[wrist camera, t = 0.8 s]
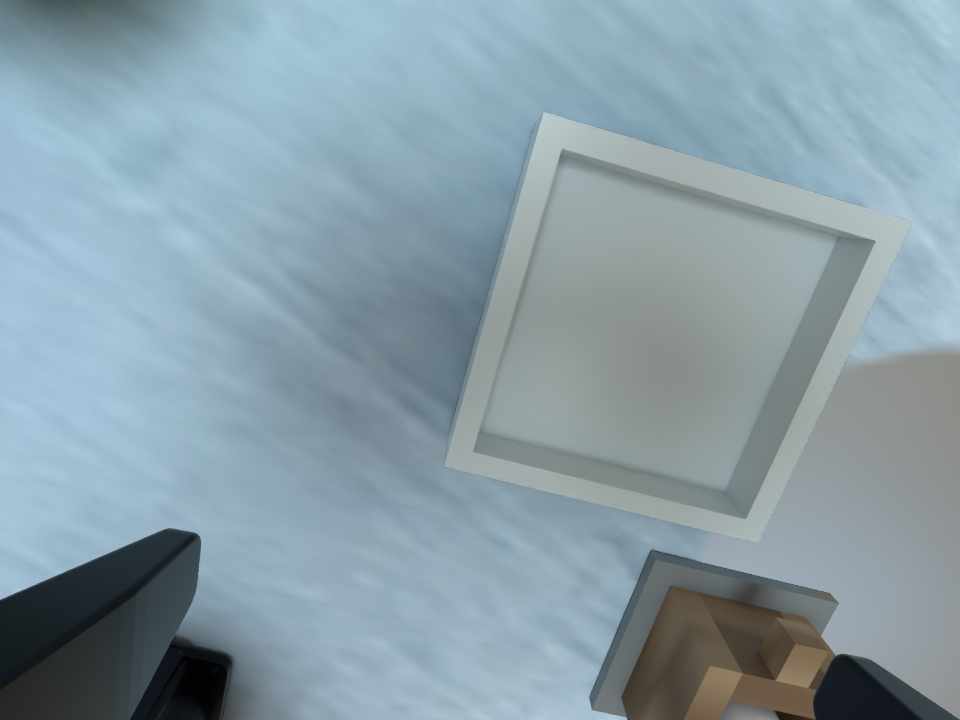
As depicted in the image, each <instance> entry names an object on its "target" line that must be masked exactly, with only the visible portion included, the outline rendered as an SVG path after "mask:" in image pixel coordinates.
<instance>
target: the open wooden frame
mask: <svg viewBox="0 0 960 720" xmlns="http://www.w3.org/2000/svg"><path fill="white" fill-rule="evenodd" d="M835 656H836V655H835V654H834V653H833V651H832V650H831V649H830V648H829V646H828V645H827V644H826V643H825V641H824V640H823V639H822V637H821V636H820V635H819V633H818V632H817V631H816V630H815V628H814V627H813V626H812V624H811V623H810V622H809V621H808V619H807V618H806V617H802V616H798V615H794V614H789V613H785V612H781V611H777V610H772V609H768V608H764V607H760V606H755V605H751V604H747V603H743V602H738V601H734V600H730V599H726V598H721V597H717V596H713V595H709V594H704V593H700V592H696V591H692V590H687V589H683V588H679V587H675V586H670V587H669V589H668V592H667V594H666V596H665V599H664V601H663V603H662V605H661V608H660V610H659V612H658V614H657V617H656V619H655V621H654V624H653V626H652V628H651V630H650V633H649V635H648V637H647V640H646V642H645V644H644V646H643V649H642V651H641V653H640V655H639V658H638V660H637V662H636V665H635V667H634V669H633V671H632V674H631V676H630V678H629V680H628V683H627V685H626V687H625V690H624V692H623V694H622V696H621V699H622V702H623V706H624V709H625V713H626V716H627V720H719V719H720V717H721V715H722V713H723V712H724V710H725V708H726V706H727V704H728V702H729V700H730V701H735V702H739V703H744V704H748V705H753V706H758V707H762V708H767V709H771V710H774V711H775V713H776V715H777V717H778V718H779V720H816V719H815V716H814V711H813V698H814V695H815V693H816V691H817V688H818V686H819V684H820V682H821V680H822V678H823V676H824V674H825V672H826V670H827V668H828V666H829V664H830V662H831V661H832V659H833V658H834V657H835Z"/></svg>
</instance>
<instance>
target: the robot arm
mask: <svg viewBox="0 0 960 720" xmlns="http://www.w3.org/2000/svg"><path fill="white" fill-rule="evenodd" d="M200 551H201V539H200V536H199V535H198V534H197V533H194V532H188V531H183V530H178V529H171V528H169V529H165V530H162V531H159V532H157V533H155V534H152V535H150V536H148V537H145V538H143V539H141V540H138V541H136V542H134V543H132V544H129V545H127V546H125V547H122V548H120V549H118V550H115V551H113V552H111V553H108V554H106V555H104V556H101V557H99V558H97V559H94V560H92V561H90V562H87V563H85V564H83V565H80V566H78V567H76V568H73V569H71V570H69V571H66V572H64V573H62V574H59V575H57V576H55V577H52V578H50V579H48V580H45V581H43V582H41V583H38V584H36V585H34V586H31V587H29V588H27V589H24V590H22V591H20V592H17V593H15V594H13V595H10V596H8V597H6V598H3V599H1V600H0V720H222V717H223V711H224V706H225V700H226V695H227V689H228V683H229V678H230V672H231V662H230V660H229V659H228V658H226V657H224V656H222V655H217V654H212V653H207V652H203V651H198V650H193V649H188V648H184V647H179V646H174V645H170V643H171V641H172V639H173V637H174V636H175V634H176V632H177V630H178V628H179V626H180V624H181V622H182V620H183V618H184V617H185V615H186V613H187V611H188V609H189V607H190V605H191V603H192V601H193V598H194V595H195V592H196V588H197V581H198V571H199V561H200ZM216 667H217V668H216ZM218 668H219V669H218ZM813 711H814V716H815V719H816V720H959V719H958V718H956V717H955V716H953V715H952V714H951V713H949V712H948V711H946V710H945V709H943V708H942V707H940V706H939V705H937V704H936V703H934V702H933V701H931V700H930V699H928V698H927V697H925V696H924V695H922V694H921V693H919V692H918V691H916V690H915V689H913V688H912V687H910V686H909V685H908V684H906V683H904V682H903V681H902V680H900V679H899V678H897V677H896V676H894V675H893V674H891V673H890V672H888V671H887V670H885V669H884V668H882V667H881V666H879V665H878V664H876V663H875V662H873V661H872V660H869V659H867V658H863V657H858V656H853V655H847V654H839V655H837V656H835V657H834V658H833V659H832V661H831V662H830V664H829V666H828V668H827V670H826V672H825V674H824V676H823V678H822V680H821V682H820V684H819V686H818V688H817V691H816V693H815V695H814V698H813Z"/></svg>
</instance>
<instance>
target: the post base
mask: <svg viewBox="0 0 960 720" xmlns="http://www.w3.org/2000/svg"><path fill="white" fill-rule="evenodd" d="M670 586H675V587H679V588H683V589H687V590H692V591H696V592H700V593H704V594H709V595H713V596H717V597H721V598H726V599H730V600H734V601H738V602H743V603H747V604H751V605H755V606H760V607H764V608H768V609H772V610H777V611H781V612H785V613H789V614H794V615H798V616H802V617H806V618H807V619H808V621H809V622H810V623H811V624H812V626H813V627H814V628H815V630H816V631H817V632H818V633H819V635H820V636H821V635H822V633H823V631H824V629H825V627H826V626H827V624H828V622H829V620H830V618H831V617H832V615H833V613H834V611H835V609H836V607H837V606H838V604H839V603H838V602H837V601H836V600H835V599H834V597H833V596H832V595H831V594H830V593H827V592H823V591H818V590H814V589H810V588H806V587H801V586H798V585H793V584H789V583H785V582H781V581H777V580H772V579H768V578H764V577H760V576H756V575H752V574H747V573H743V572H739V571H735V570H731V569H727V568H722V567H718V566H714V565H710V564H706V563H702V562H697V561H693V560H689V559H685V558H681V557H677V556H672V555H668V554H664V553H660V552H656V551H652V550H651V552H650V554H649V557H648V559H647V562H646V564H645V566H644V569H643V571H642V574H641V576H640V578H639V581H638V583H637V586H636V588H635V590H634V593H633V595H632V597H631V600H630V602H629V605H628V607H627V609H626V612H625V614H624V617H623V619H622V621H621V624H620V626H619V629H618V631H617V633H616V636H615V638H614V640H613V643H612V645H611V648H610V650H609V652H608V655H607V657H606V660H605V662H604V664H603V667H602V669H601V672H600V674H599V676H598V679H597V681H596V683H595V686H594V688H593V691H592V693H591V695H590V703H591V707H592V710H595V711H600V712H605V713H609V714H614V715H619V716H623V717H627V716H626V713H625V709H624V706H623V702H622V699H621V696H622V694H623V692H624V690H625V687H626V685H627V683H628V680H629V678H630V676H631V674H632V671H633V669H634V667H635V665H636V662H637V660H638V658H639V655H640V653H641V651H642V649H643V646H644V644H645V642H646V640H647V637H648V635H649V633H650V630H651V628H652V626H653V624H654V621H655V619H656V617H657V614H658V612H659V610H660V608H661V605H662V603H663V601H664V599H665V596H666V594H667V592H668V589H669V587H670ZM719 720H779V718H778V717H777V715H776V713H775V711H774V710H771V709H767V708H762V707H758V706H753V705H748V704H744V703H739V702H735V701H730V700H729V702H728V704H727V706H726V708H725V710H724V712H723V713H722V715H721V717H720V719H719Z"/></svg>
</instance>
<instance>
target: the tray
mask: <svg viewBox="0 0 960 720" xmlns="http://www.w3.org/2000/svg"><path fill="white" fill-rule="evenodd" d="M911 224H912V222H911V221H908V220H905V219H901V218H898V217H895V216H891V215H888V214H885V213H881V212H878V211H875V210H871V209H868V208H865V207H861V206H858V205H854V204H851V203H848V202H844V201H841V200H838V199H834V198H831V197H828V196H824V195H821V194H818V193H814V192H811V191H808V190H804V189H801V188H798V187H794V186H791V185H787V184H784V183H781V182H777V181H774V180H771V179H767V178H764V177H761V176H757V175H754V174H751V173H747V172H744V171H741V170H737V169H734V168H731V167H727V166H724V165H720V164H717V163H714V162H710V161H707V160H704V159H700V158H697V157H694V156H690V155H687V154H684V153H680V152H677V151H674V150H670V149H667V148H664V147H660V146H657V145H653V144H650V143H647V142H643V141H640V140H637V139H633V138H630V137H627V136H623V135H620V134H617V133H613V132H610V131H607V130H603V129H600V128H597V127H593V126H590V125H587V124H583V123H580V122H576V121H573V120H570V119H566V118H563V117H560V116H556V115H553V114H550V113H546V112H543V113H542V115H541V116H540V117H539V119H538V120H537V121H536V123H535V126H534V130H533V133H532V137H531V141H530V144H529V148H528V151H527V155H526V159H525V162H524V166H523V169H522V173H521V177H520V180H519V184H518V187H517V191H516V195H515V198H514V202H513V205H512V209H511V213H510V216H509V220H508V223H507V227H506V231H505V234H504V238H503V241H502V245H501V249H500V252H499V256H498V259H497V263H496V267H495V270H494V274H493V277H492V281H491V285H490V288H489V292H488V295H487V299H486V303H485V306H484V310H483V313H482V317H481V320H480V324H479V328H478V331H477V335H476V338H475V342H474V346H473V349H472V353H471V356H470V360H469V364H468V367H467V371H466V374H465V378H464V382H463V385H462V389H461V392H460V396H459V400H458V403H457V407H456V410H455V414H454V418H453V421H452V425H451V428H450V432H449V436H448V441H447V449H446V456H445V464H444V467H447V468H451V469H455V470H459V471H463V472H467V473H471V474H475V475H479V476H483V477H488V478H492V479H496V480H500V481H504V482H508V483H512V484H516V485H520V486H524V487H528V488H533V489H537V490H541V491H545V492H549V493H553V494H557V495H561V496H565V497H569V498H573V499H578V500H582V501H586V502H590V503H594V504H598V505H602V506H606V507H610V508H614V509H618V510H623V511H627V512H631V513H635V514H639V515H643V516H647V517H651V518H655V519H659V520H663V521H668V522H672V523H676V524H680V525H684V526H688V527H692V528H696V529H700V530H704V531H708V532H713V533H717V534H721V535H725V536H729V537H733V538H737V539H741V540H746V541H750V542H753V543H758V542H759V540H760V538H761V536H762V534H763V532H764V530H765V528H766V526H767V524H768V521H769V519H770V517H771V515H772V513H773V511H774V509H775V507H776V505H777V503H778V501H779V499H780V497H781V494H782V492H783V490H784V488H785V486H786V484H787V482H788V479H789V478H790V476H791V473H792V471H793V469H794V467H795V465H796V463H797V461H798V459H799V457H800V455H801V453H802V451H803V449H804V447H805V444H806V442H807V440H808V438H809V436H810V434H811V432H812V430H813V428H814V426H815V424H816V422H817V419H818V417H819V415H820V413H821V411H822V409H823V407H824V405H825V403H826V401H827V399H828V397H829V394H830V392H831V390H832V388H833V386H834V384H835V382H836V380H837V378H838V376H839V374H840V372H841V370H842V368H843V365H844V363H845V361H846V359H847V357H848V355H849V353H850V351H851V349H852V347H853V345H854V343H855V340H856V338H857V336H858V334H859V332H860V330H861V328H862V326H863V324H864V322H865V320H866V318H867V315H868V313H869V311H870V309H871V307H872V305H873V303H874V301H875V299H876V297H877V295H878V293H879V291H880V288H881V286H882V284H883V282H884V280H885V278H886V276H887V274H888V272H889V270H890V268H891V266H892V263H893V261H894V259H895V257H896V255H897V253H898V251H899V249H900V247H901V245H902V243H903V241H904V238H905V236H906V234H907V232H908V230H909V228H910V226H911Z"/></svg>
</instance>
